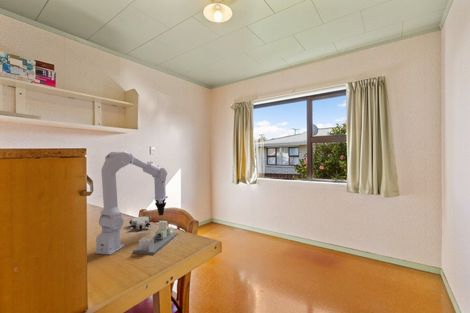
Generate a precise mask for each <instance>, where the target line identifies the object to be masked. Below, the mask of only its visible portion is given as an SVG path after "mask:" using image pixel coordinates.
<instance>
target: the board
mask: <svg viewBox="0 0 470 313" xmlns="http://www.w3.org/2000/svg"><path fill="white" fill-rule="evenodd" d="M167 229H168V232H167V237H165V238H164V239H157V240H155V241H154V248H153V249H152V250H150V251H139V246H137V247H136V248H134V249H133V250H132V254H142V255H143V254H144V255H155V254H157V253H158V252H159V251H160V250H161V249H163V248H164V247H165V246H167V245H168V243H170V242H171V241H172V240H174V239H175V238H176V237H177V236H178V235H179V232H174V231H173V225H169V226H167ZM177 234H178V235H177ZM176 235H177V236H176ZM175 236H176V237H175ZM153 237H155V235H153V236H151V238H153ZM174 237H175V238H174Z"/></svg>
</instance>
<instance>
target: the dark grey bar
mask: <svg viewBox="0 0 470 313" xmlns="http://www.w3.org/2000/svg"><path fill="white" fill-rule="evenodd" d="M167 232H168V228H167ZM154 236H155V235H154ZM152 237H153V236H152ZM159 237H161V234H158V235H156V236H155V237H153V238H154V241H155V240H157V239H158V238H159Z"/></svg>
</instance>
